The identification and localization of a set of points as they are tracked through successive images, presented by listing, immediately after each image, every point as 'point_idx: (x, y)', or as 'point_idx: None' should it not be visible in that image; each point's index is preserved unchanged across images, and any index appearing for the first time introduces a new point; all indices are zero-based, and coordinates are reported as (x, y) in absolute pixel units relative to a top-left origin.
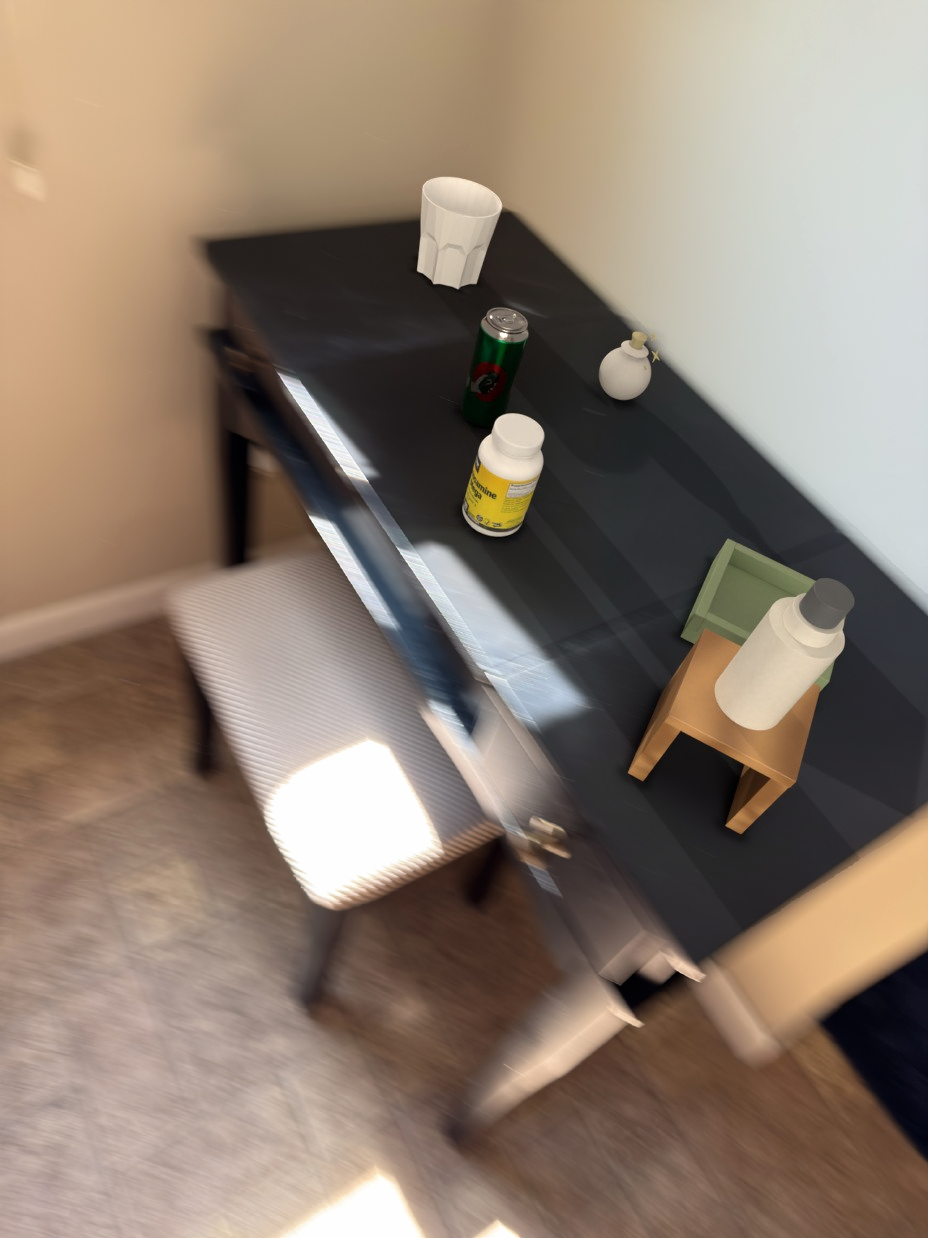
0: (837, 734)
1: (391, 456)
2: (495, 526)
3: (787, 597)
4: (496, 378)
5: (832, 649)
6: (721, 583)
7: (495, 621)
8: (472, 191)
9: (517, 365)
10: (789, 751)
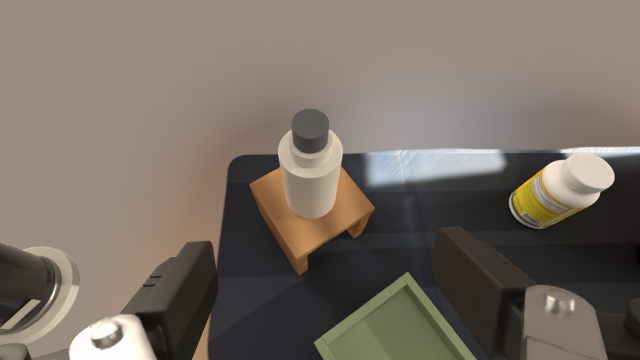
0: (281, 344)
1: None
2: (514, 193)
3: (341, 155)
4: None
5: (284, 152)
6: (440, 342)
7: (438, 168)
8: None
9: None
10: (267, 195)
